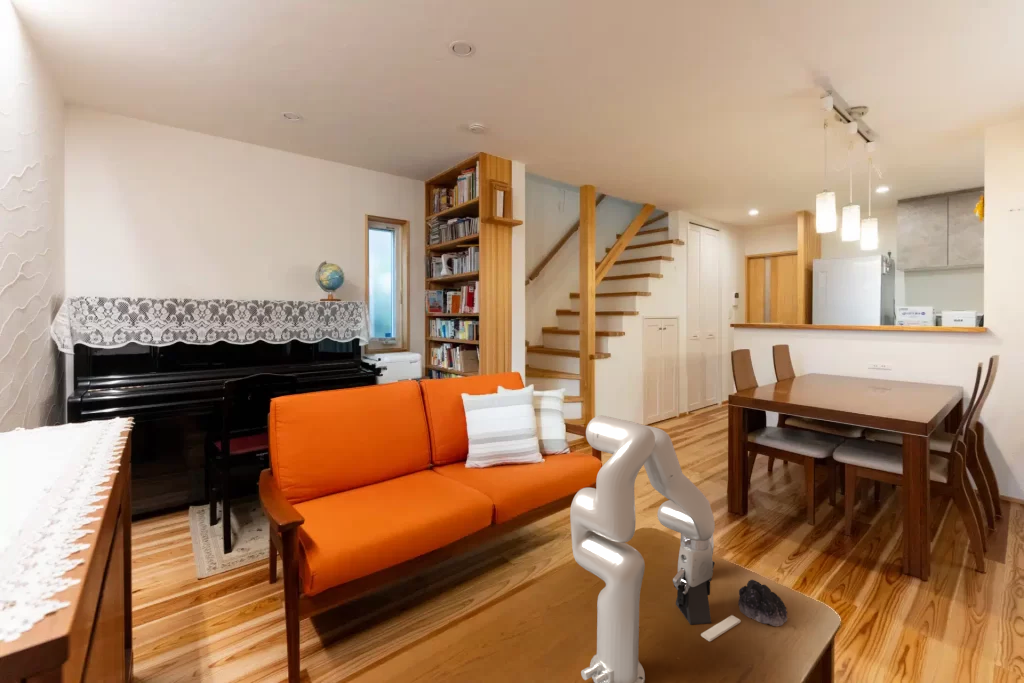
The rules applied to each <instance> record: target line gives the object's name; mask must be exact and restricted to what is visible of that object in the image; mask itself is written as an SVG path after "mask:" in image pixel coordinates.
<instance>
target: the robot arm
mask: <svg viewBox="0 0 1024 683" xmlns="http://www.w3.org/2000/svg"><path fill="white" fill-rule="evenodd" d="M585 437H586V438H585V439H586V441H587V442H588V444H589V446H590V447H592V448H593V449H595V450H597V451H601V452H604V453H607V454H610V455H611V456H610V458H609V459H608V460H607V461H606V462H605V463H604V464H603V465H602V466H601V467H600V469H599V471H598V472H597V475H596V480H595V482H596V484H595V487H596V488H595V487H583V488H580V489H579V490H578V491H577V492H576V494H575V495H574V497H573V499H572V501H571V505H570V509H569V510H570V513H569V517H570V518H569V521H570V533H571V535H570V536H571V547H572V555H573V558H574V560H575V562H576V563H577V564H578V565H579V566H580V567H582V568H583V569H584V570H585V571H588V572H589V573H590V574H593V575H594V576H596V577H598V578H599V579H601V580H602V581H603V582H604V583H605V586H604V587H603V588H602V589H601V590H600V591H599V594H598V596H597V603H596V604H597V606H596V609H597V610H596V612H597V615H596V616H597V617H596V618H597V620H596V621H597V622H596V628H597V629H596V654H594V655H593V656H592V658H591V660H590V663H589V666H588V667H586V668H584V669H582V670H581V671H580V674H581V678H582V679H583V680H584V681H587V680H589V679H590V678H591V679H592V680H593V683H645V681H646V674H645V670H644V668H643V665H642V664H641V663H640V661H639V644H640V643H639V642H640V641H639V639H640V638H639V637H640V636H639V634H640V633H639V632H640V628H639V627H640V597H641V596H640V595H641V588H642V583H643V579H644V576H645V567H646V565H645V560H644V557H643V555H642V554H641V552H639V551H638V550H637V549H636V548H635V547H633V546H632V545H630V544H628V542H629V541H631V540H632V539H633V537H634V536H635V532H636V503H635V502H636V498H635V484H636V483H635V482H636V479H637V476H638V474H639V473H640V471H641V469H642V468H643V467H644V470H645V472H646V475H647V478H648V480H649V482H650V485H651V487H652V488H653V489H654V490H655V491H656V492H658V493H659V494H660V495H662V496H663V497H665V498H666V499H668V500H665V501H664V502H662V503H661V505H659V507H658V509H657V520H658V522H659V523H660V524H661V525H662V526H664V527H665V528H667V529H669V530H672V531H674V532H677V533H679V534H680V546H679V552H678V559H677V560H678V561H677V573H676V575H675V576H674V577H673V578H672V582H673V586H674V588H675V589H676V590H677V592H676V593H677V595H676V596H677V597H676V600H677V601H678V603H680V604H681V605H683V606H684V607H686V608H687V607H688V598H689V594H688V593H687V591H688V589H689V587H690V586H691V587H695V586H697V585H699V584H701V583H703V582H705V581H707V582H706V587H707V594H708V596H710V595H711V581H712V580H713V579H712V578H713V573H714V568H715V561H713V555H712V551H711V546H710V544H709V541H710V538H711V537H712V535H713V536H714V532H715V528H716V527H715V526H716V525H715V516H714V513H713V510H712V507H711V503H710V501H709V499H708V498H707V497H706V495H705V494H704V493H703V492H702V491H701V490H700V488H698V487H697V485H695V484H694V483H693V482H692V480H690V479H689V478H688V477H687V475H685V474H684V473H683V471H682V468H681V465H680V461H679V459H678V455H677V453H676V449H675V447H674V444H673V441H672V439H671V437H670V434H668V433H667V431H665V430H663V429H661V428H659V427H654V426H650V425H646V424H641V423H639V422H635V421H630V420H627V419H626V420H625V419H621V418H615V417H611V416H607V415H596V416H594V417H593V418H592V419H590V420H589V422H588V423H587V426H586V429H585ZM685 578H686V581H685V580H684V579H685ZM683 582H684V583H686V585H685V587H684V588H683V587H682V586H681V585H682V583H683Z"/></svg>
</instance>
